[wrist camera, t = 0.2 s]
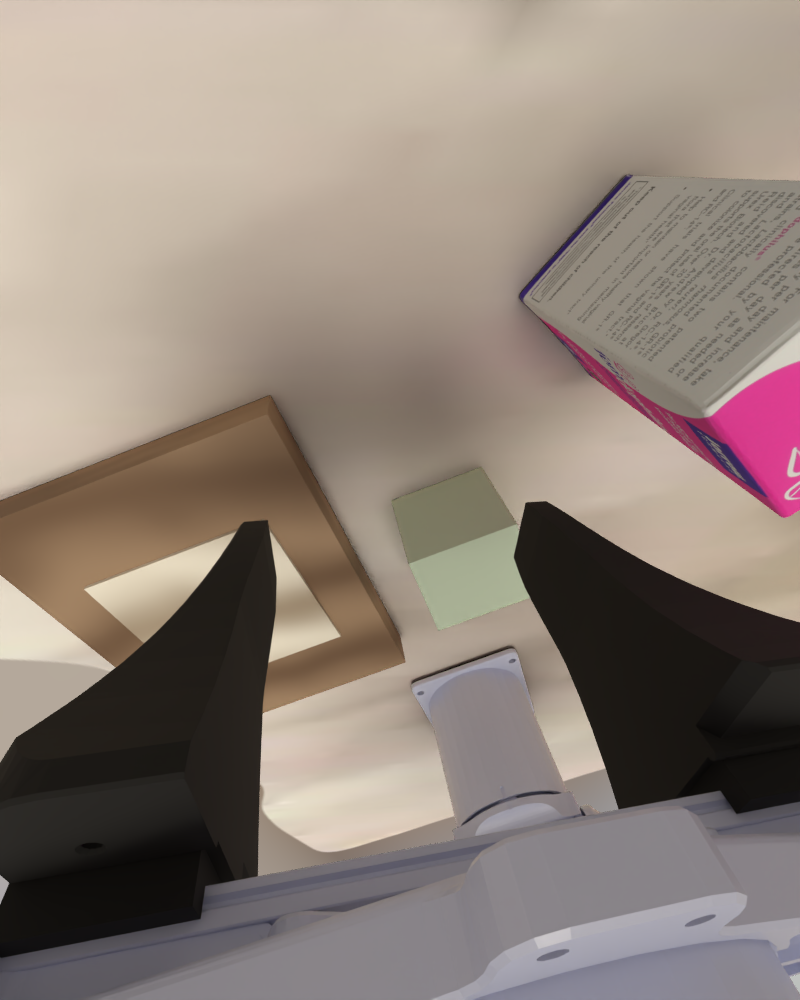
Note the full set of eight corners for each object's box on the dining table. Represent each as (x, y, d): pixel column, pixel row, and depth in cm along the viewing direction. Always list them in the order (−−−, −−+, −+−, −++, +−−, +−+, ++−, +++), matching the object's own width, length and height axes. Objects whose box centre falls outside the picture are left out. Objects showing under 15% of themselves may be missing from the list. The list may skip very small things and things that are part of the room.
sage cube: (498, 534, 27) (533, 596, 23) (418, 563, 27) (438, 630, 23) (480, 466, 24) (516, 524, 20) (391, 499, 24) (408, 563, 20)
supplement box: (511, 300, 19) (702, 410, 10) (626, 169, 17) (997, 157, 8) (587, 382, 22) (791, 527, 13) (693, 277, 20) (1027, 360, 11)
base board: (400, 636, 30) (406, 664, 29) (205, 706, 31) (199, 738, 29) (270, 395, 20) (266, 416, 18) (-20, 508, 21) (-51, 539, 19)
